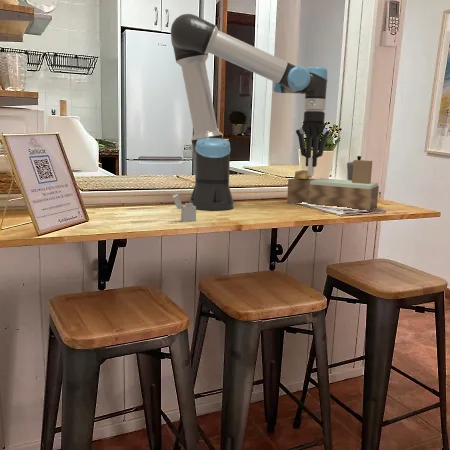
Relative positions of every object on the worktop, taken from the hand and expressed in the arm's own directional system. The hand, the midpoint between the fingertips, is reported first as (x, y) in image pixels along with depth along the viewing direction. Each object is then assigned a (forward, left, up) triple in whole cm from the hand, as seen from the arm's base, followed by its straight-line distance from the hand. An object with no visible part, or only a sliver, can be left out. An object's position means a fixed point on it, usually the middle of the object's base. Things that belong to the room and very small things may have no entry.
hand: (310, 175), depth 190 cm
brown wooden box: (+8, 0, -11) cm, 14 cm away
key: (-3, 0, -1) cm, 3 cm away
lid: (+13, 0, -4) cm, 14 cm away
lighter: (-19, -59, -11) cm, 63 cm away
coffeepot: (+14, +19, -11) cm, 26 cm away
